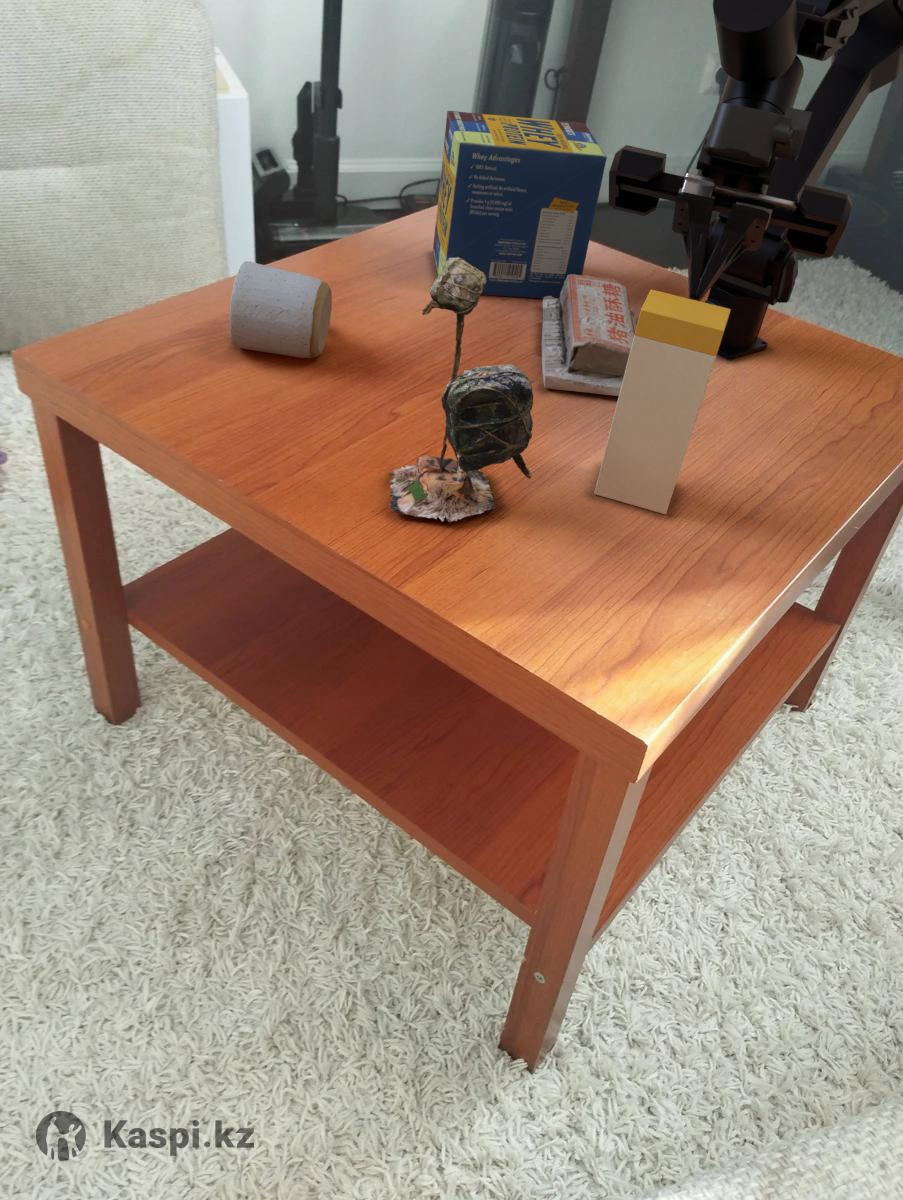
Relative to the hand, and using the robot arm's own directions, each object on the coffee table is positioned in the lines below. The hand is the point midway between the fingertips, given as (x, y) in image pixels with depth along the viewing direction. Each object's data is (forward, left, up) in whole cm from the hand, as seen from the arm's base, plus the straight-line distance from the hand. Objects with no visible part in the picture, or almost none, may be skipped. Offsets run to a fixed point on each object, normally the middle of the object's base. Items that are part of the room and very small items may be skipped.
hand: (694, 300), depth 79 cm
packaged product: (-6, -15, -13) cm, 21 cm away
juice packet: (+7, +5, -13) cm, 16 cm away
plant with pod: (+21, -1, -14) cm, 25 cm away
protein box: (-9, -33, -14) cm, 37 cm away
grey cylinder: (+21, -29, -14) cm, 38 cm away
